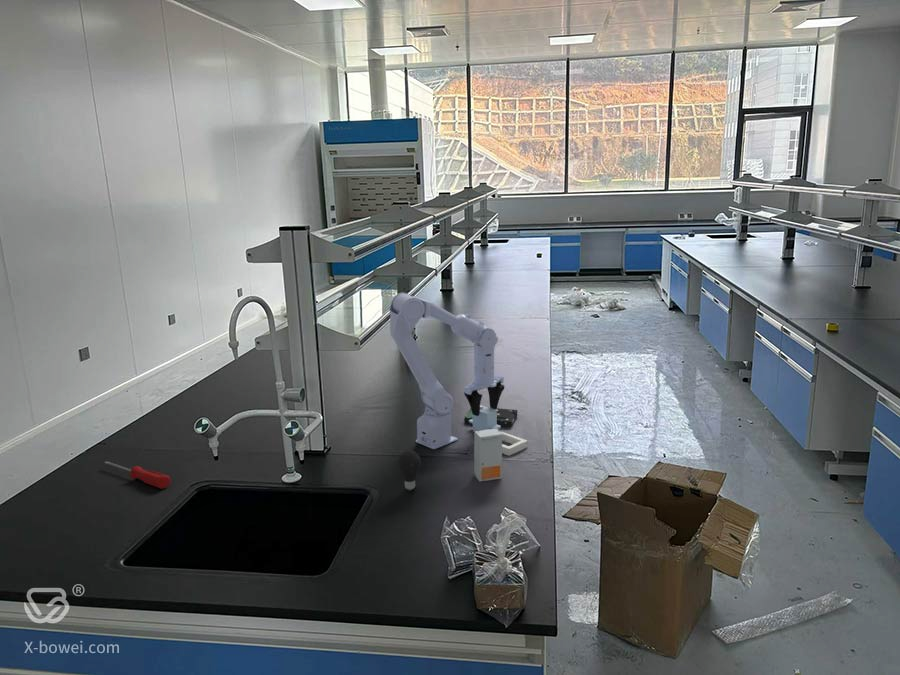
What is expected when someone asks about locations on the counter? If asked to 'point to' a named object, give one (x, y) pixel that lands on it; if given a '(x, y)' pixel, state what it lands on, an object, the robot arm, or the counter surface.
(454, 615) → the counter surface
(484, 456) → the skincare box
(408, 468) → the light bulb
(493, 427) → the block
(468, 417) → the disk drive
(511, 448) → the frame
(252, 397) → the counter surface
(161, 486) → the screwdriver
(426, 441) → the robot arm
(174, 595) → the counter surface
